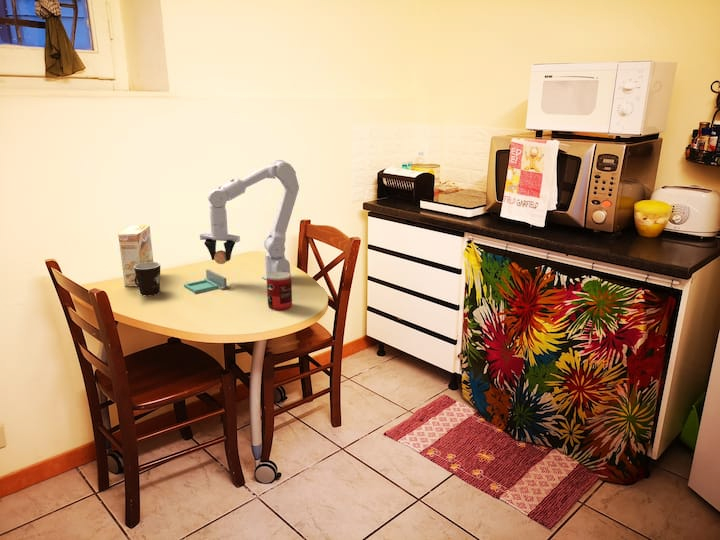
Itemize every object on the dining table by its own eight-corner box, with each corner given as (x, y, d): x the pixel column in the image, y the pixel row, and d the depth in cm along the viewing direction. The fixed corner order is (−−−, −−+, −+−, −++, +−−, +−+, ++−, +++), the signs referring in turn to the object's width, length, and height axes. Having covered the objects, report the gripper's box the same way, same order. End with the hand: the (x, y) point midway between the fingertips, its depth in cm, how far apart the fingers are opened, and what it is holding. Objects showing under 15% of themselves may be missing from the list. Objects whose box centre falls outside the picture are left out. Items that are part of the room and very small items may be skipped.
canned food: (270, 302, 182) (268, 270, 179) (293, 302, 182) (292, 271, 179) (265, 310, 175) (264, 278, 172) (290, 311, 175) (289, 278, 171)
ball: (230, 264, 198) (230, 251, 197) (218, 266, 195) (218, 253, 193) (223, 261, 202) (223, 248, 200) (211, 263, 198) (211, 250, 197)
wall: (229, 288, 195) (228, 277, 194) (221, 289, 193) (221, 279, 192) (211, 278, 205) (210, 268, 204) (204, 280, 203) (203, 270, 202)
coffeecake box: (143, 286, 197) (137, 233, 191) (123, 286, 196) (116, 234, 190) (155, 273, 211) (150, 224, 205) (137, 273, 211) (131, 224, 205)
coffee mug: (153, 287, 196) (150, 260, 193) (168, 291, 191) (165, 264, 188) (124, 296, 187) (120, 268, 184) (138, 301, 182) (135, 272, 179)
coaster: (218, 288, 195) (218, 285, 195) (194, 293, 190) (194, 290, 189) (207, 282, 202) (207, 279, 201) (184, 287, 196) (183, 284, 196)
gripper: (242, 222, 196) (244, 258, 200) (205, 219, 199) (207, 255, 203) (234, 226, 189) (236, 263, 194) (196, 223, 192) (198, 260, 196)
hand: (221, 259), depth 198 cm, fingers closed on ball, 5 cm apart
